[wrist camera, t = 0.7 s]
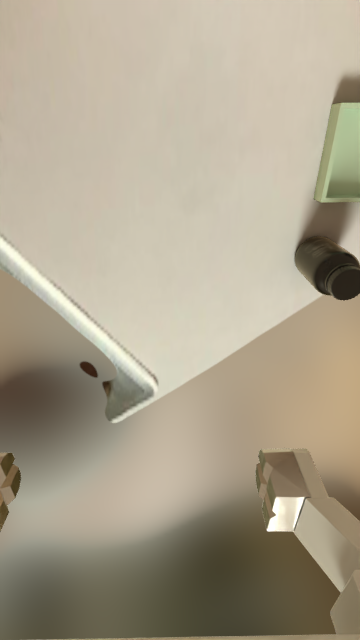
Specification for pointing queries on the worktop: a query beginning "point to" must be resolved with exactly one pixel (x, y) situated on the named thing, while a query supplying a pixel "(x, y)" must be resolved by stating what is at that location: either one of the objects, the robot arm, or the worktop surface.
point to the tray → (340, 156)
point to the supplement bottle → (329, 268)
